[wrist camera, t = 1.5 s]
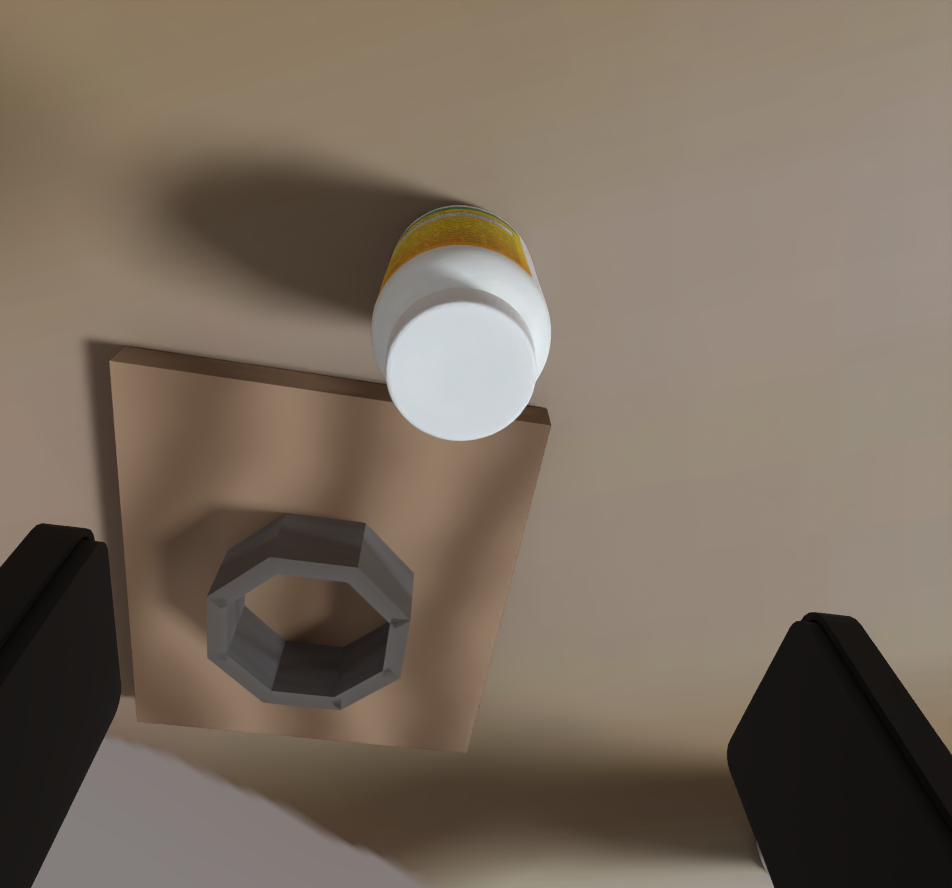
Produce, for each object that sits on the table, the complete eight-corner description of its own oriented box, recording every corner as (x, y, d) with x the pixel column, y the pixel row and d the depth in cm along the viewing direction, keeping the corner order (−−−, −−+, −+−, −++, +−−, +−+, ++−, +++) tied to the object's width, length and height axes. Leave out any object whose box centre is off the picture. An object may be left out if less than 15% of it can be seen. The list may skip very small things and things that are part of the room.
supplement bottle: (554, 302, 28) (597, 414, 19) (434, 364, 29) (425, 495, 20) (489, 172, 25) (506, 236, 17) (361, 245, 26) (318, 339, 18)
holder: (546, 408, 30) (560, 464, 26) (466, 729, 39) (467, 805, 36) (125, 345, 28) (71, 395, 24) (148, 698, 38) (112, 774, 34)
